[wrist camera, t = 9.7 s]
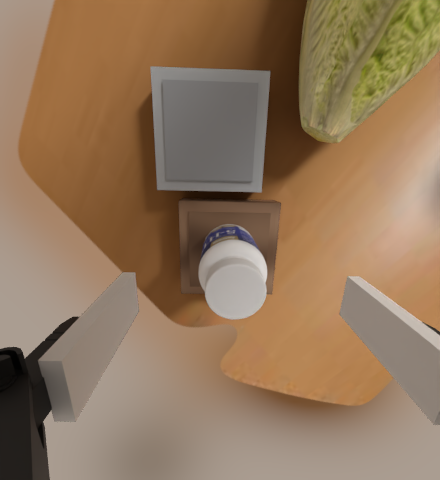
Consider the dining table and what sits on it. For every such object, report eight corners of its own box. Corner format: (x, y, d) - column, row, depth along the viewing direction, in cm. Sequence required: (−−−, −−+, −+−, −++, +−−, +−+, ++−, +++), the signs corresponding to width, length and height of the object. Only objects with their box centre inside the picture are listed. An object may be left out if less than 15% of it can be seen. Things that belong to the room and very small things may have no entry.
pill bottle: (229, 212, 21) (239, 235, 13) (264, 248, 23) (295, 292, 14) (191, 248, 22) (177, 293, 14) (227, 282, 24) (234, 342, 15)
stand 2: (182, 198, 24) (178, 201, 21) (273, 200, 24) (281, 203, 21) (184, 281, 27) (180, 294, 24) (266, 281, 27) (272, 295, 24)
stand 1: (159, 81, 21) (149, 64, 18) (263, 85, 21) (271, 69, 18) (164, 188, 24) (156, 190, 21) (256, 190, 24) (262, 192, 21)
